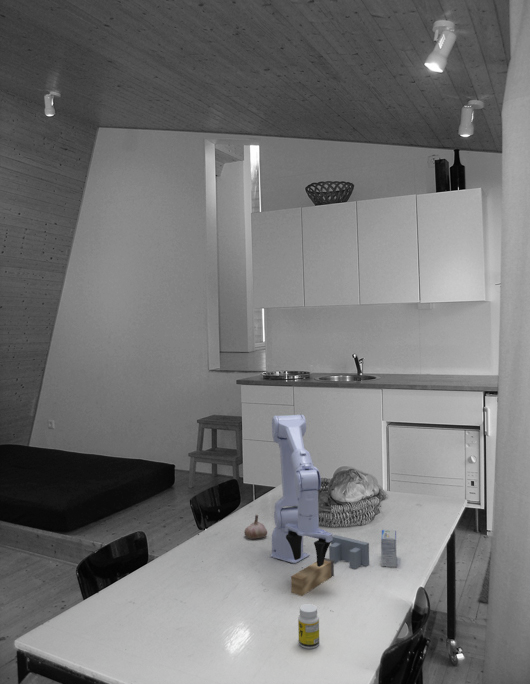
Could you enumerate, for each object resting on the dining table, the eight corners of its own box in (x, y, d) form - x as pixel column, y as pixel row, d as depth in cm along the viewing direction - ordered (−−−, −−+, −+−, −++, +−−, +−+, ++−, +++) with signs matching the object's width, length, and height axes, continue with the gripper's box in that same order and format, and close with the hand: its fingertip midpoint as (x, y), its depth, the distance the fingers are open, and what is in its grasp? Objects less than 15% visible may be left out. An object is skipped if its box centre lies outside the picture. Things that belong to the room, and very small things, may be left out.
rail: (302, 595, 167) (301, 579, 167) (291, 592, 169) (291, 576, 169) (333, 575, 180) (333, 560, 179) (323, 572, 182) (323, 557, 182)
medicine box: (396, 568, 184) (396, 539, 184) (381, 567, 185) (380, 538, 185) (396, 557, 192) (396, 529, 192) (381, 556, 193) (381, 529, 193)
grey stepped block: (325, 560, 190) (324, 539, 190) (334, 555, 195) (334, 534, 194) (359, 570, 183) (359, 548, 183) (369, 564, 187) (368, 542, 187)
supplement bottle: (297, 638, 145) (296, 603, 145) (317, 637, 145) (316, 602, 145) (300, 650, 140) (299, 613, 140) (321, 648, 141) (320, 612, 140)
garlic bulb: (271, 536, 213) (270, 513, 212) (259, 543, 207) (259, 519, 206) (252, 532, 217) (252, 509, 216) (240, 539, 211) (240, 515, 210)
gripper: (278, 512, 173) (279, 560, 174) (322, 522, 164) (323, 573, 165) (293, 506, 179) (293, 552, 179) (336, 515, 170) (337, 564, 170)
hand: (308, 562), depth 173 cm, fingers open, 7 cm apart
